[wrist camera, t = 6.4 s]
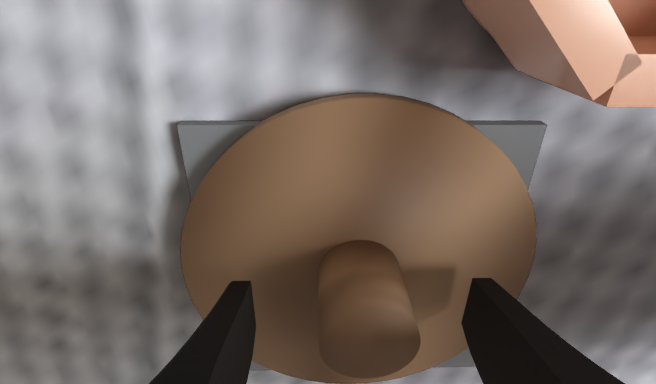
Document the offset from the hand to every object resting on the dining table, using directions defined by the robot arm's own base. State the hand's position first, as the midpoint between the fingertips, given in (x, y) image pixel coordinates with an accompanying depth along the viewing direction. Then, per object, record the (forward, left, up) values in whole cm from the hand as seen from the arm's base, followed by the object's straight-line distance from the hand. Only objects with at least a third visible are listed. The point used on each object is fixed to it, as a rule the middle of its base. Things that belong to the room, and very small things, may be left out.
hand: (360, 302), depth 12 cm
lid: (0, 0, -2) cm, 2 cm away
